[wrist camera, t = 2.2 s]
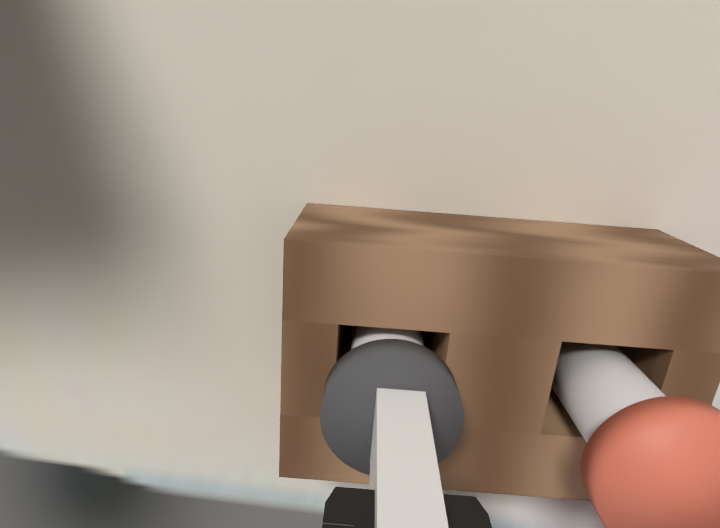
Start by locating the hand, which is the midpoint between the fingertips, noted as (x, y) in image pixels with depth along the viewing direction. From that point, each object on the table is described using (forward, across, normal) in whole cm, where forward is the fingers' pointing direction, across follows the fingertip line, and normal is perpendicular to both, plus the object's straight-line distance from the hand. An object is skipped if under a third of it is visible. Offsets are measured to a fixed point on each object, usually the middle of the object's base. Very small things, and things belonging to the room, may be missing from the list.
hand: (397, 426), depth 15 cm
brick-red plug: (+5, +8, 0) cm, 9 cm away
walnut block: (+9, +4, 0) cm, 10 cm away
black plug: (+8, 0, 0) cm, 8 cm away
